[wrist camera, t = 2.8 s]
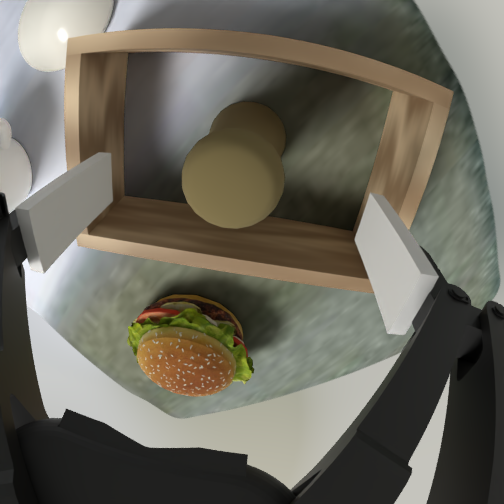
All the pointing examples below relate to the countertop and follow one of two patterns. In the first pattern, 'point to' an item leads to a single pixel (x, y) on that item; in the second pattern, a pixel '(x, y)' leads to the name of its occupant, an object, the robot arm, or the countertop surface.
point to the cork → (237, 167)
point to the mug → (13, 168)
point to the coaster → (58, 28)
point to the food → (190, 345)
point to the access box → (271, 228)
